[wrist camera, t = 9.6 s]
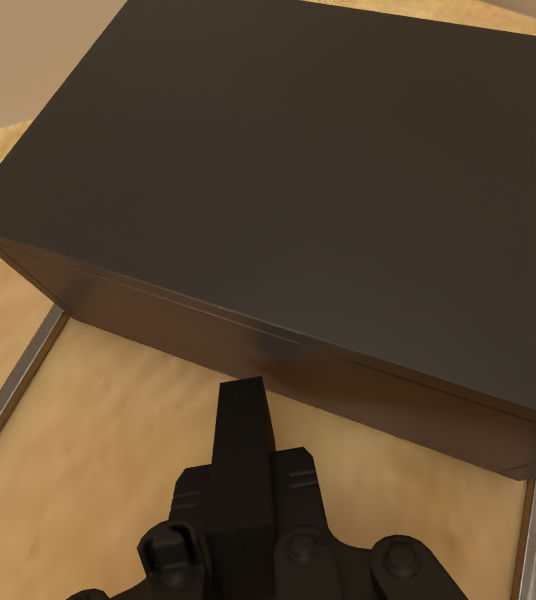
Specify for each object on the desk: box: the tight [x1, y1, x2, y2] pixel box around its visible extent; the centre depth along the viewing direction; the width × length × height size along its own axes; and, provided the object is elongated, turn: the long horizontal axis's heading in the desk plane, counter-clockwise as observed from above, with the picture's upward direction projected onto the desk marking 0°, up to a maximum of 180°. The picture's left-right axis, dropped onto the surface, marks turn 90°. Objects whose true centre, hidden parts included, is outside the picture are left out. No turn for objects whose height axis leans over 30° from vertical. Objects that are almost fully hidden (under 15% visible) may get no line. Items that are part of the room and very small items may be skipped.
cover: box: [0, 0, 536, 481], centre depth 18 cm, size 20×13×8 cm, turn 69°
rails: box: [0, 303, 536, 600], centre depth 19 cm, size 22×23×1 cm
